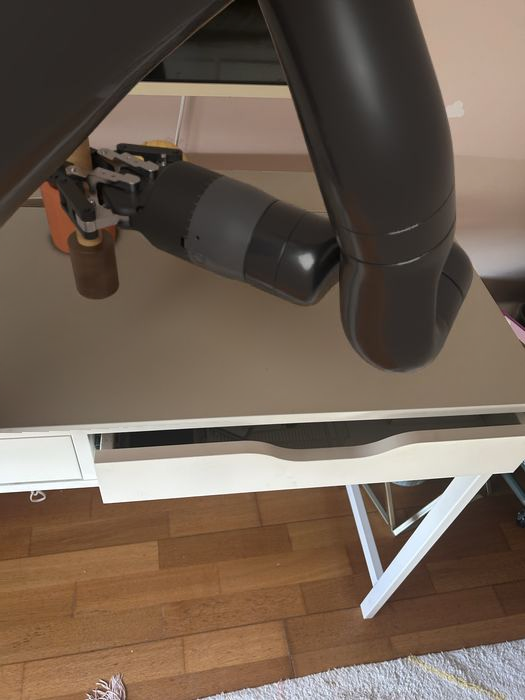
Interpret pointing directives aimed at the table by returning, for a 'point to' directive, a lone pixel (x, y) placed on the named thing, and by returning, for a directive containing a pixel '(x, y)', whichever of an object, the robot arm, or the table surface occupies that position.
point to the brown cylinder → (92, 248)
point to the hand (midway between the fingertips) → (52, 157)
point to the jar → (60, 217)
